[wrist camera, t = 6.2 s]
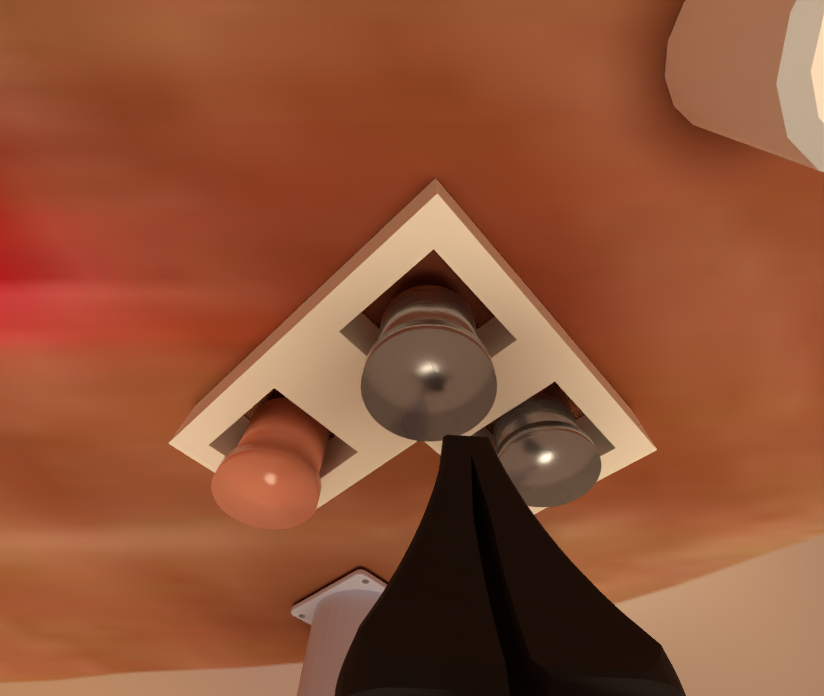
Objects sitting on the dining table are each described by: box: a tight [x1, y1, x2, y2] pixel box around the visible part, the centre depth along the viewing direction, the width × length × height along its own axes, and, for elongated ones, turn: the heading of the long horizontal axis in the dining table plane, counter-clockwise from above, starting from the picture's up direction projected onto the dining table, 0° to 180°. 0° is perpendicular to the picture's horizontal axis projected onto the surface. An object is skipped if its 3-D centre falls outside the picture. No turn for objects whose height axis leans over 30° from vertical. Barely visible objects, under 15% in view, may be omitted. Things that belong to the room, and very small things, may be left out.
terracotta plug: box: [211, 397, 330, 530], centre depth 21 cm, size 5×5×4 cm
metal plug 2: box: [492, 383, 602, 507], centre depth 21 cm, size 5×5×4 cm
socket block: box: [169, 178, 657, 514], centre depth 23 cm, size 16×18×3 cm
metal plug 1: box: [361, 285, 497, 441], centre depth 17 cm, size 5×5×4 cm
